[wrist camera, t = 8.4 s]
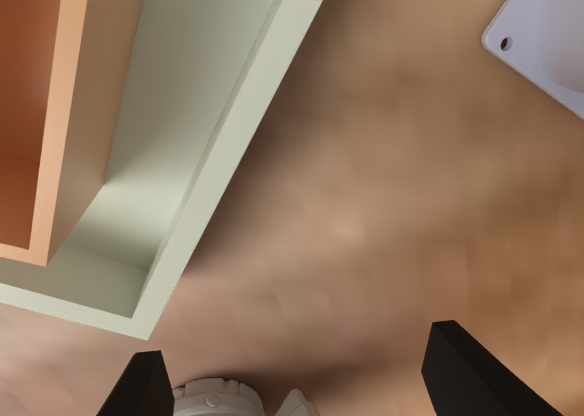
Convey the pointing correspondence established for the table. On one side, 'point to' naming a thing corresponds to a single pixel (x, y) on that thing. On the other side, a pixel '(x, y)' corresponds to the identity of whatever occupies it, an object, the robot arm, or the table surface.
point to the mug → (232, 400)
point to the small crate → (57, 114)
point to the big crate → (166, 159)
